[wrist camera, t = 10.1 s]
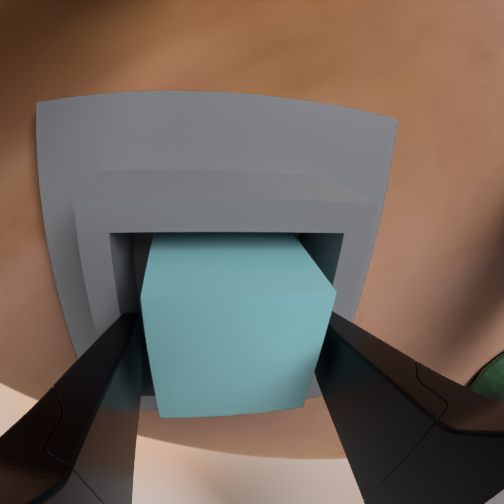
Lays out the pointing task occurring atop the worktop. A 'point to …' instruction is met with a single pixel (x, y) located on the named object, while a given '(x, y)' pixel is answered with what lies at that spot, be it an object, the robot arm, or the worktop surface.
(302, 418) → the worktop surface
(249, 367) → the peg
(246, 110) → the socket
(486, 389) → the coffee jar
